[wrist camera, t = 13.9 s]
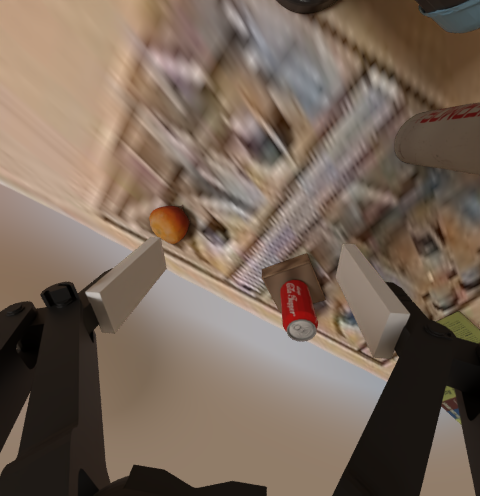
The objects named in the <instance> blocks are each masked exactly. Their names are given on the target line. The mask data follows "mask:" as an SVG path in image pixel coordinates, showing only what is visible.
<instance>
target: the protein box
mask: <svg viewBox="0 0 480 496" xmlns="http://www.w3.org/2000/svg"><path fill="white" fill-rule="evenodd" d="M437 322H438V323H440V324H442V325H444V326H446V327H447V328H448V329H450V330H451V331H452V332H453V333H454V334H455V336H456V337H457V338H461V339H464V340H468V341H471V342H475V343H480V330H479V329H478V328H477V327H476V326H475V325H474V324H473V323H472V322H470V321H469V320H468V319H467V318H466V317H465V316H464V315H463V314H462V313H461V312H459V311H458V312H456V313H454V314H452V315H449V316H447V317H445V318H443V319H441V320H439V321H437ZM441 407H443V408H444V409H445V410H446V411H447V412H448V413H449V414H450V415H451V416H452V417H454V418H455V419H456V420H457V421H458V422H459V423H460V424H461V419H460V414H459V409H458V404H457V400H456V395H455V390H454V388H451V387H448V386H446V388H445V392H444V397H443V401H442V405H441ZM461 425H462V424H461Z"/></svg>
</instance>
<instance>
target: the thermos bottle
mask: <svg viewBox="0 0 480 496" xmlns="http://www.w3.org/2000/svg"><path fill="white" fill-rule="evenodd" d="M394 148H395V153H396V155H397V157H398V158H399V159H400V160H401V161H403V162H405V163H409V164H415V165H421V166H428V167H435V168H443V169H448V170H453V171H459V172H466V173H472V174H478V175H480V103H473V104H466V105H460V106H455V107H450V108H444V109H439V110H433V111H428V112H423V113H420V114H417V115H415V116H413V117H412V118H410V119H409V120H408V121H407V122H405V124H404V125H403V126H402V127H401V128H400V130H399V131H398V134H397V136H396V139H395V144H394Z"/></svg>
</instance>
